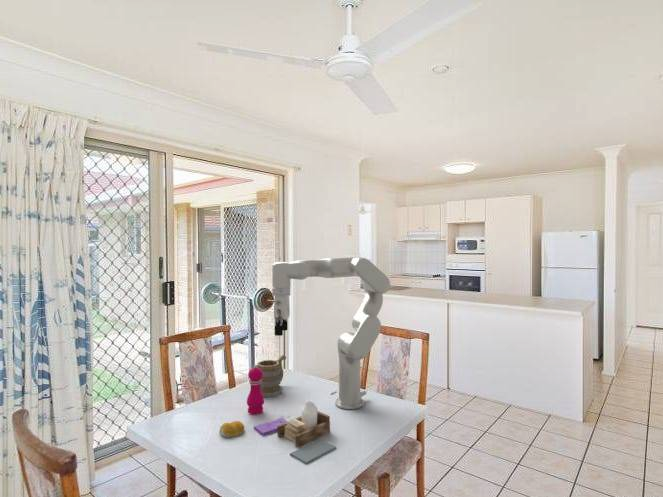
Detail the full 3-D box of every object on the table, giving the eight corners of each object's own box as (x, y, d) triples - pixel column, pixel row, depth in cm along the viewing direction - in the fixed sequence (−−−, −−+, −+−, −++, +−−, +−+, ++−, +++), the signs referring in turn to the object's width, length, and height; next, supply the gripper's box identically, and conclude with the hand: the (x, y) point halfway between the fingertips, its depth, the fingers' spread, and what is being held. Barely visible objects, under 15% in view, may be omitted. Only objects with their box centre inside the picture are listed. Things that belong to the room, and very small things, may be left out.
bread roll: (247, 434, 149) (247, 423, 148) (224, 440, 144) (224, 429, 144) (239, 425, 155) (239, 415, 155) (217, 431, 151) (217, 420, 150)
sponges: (291, 428, 154) (291, 423, 154) (262, 437, 146) (262, 432, 146) (282, 421, 160) (282, 417, 160) (253, 430, 152) (253, 425, 152)
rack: (309, 422, 158) (309, 407, 158) (329, 432, 150) (329, 416, 150) (277, 436, 146) (277, 420, 146) (297, 447, 138) (297, 430, 138)
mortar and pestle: (269, 399, 181) (269, 366, 181) (249, 393, 188) (249, 361, 188) (296, 386, 198) (296, 356, 198) (277, 381, 205) (277, 352, 205)
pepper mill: (266, 408, 171) (266, 362, 171) (261, 415, 164) (261, 367, 164) (249, 407, 172) (249, 361, 171) (244, 414, 164) (244, 366, 164)
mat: (319, 440, 143) (319, 438, 143) (336, 448, 138) (336, 446, 138) (290, 455, 133) (290, 453, 133) (306, 464, 128) (306, 462, 128)
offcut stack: (293, 432, 149) (293, 417, 149) (307, 439, 144) (307, 424, 144) (284, 436, 146) (284, 421, 146) (297, 444, 141) (297, 428, 141)
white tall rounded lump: (315, 396, 153) (319, 402, 148) (315, 427, 153) (318, 434, 148) (300, 398, 152) (303, 403, 146) (300, 429, 152) (303, 436, 146)
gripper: (286, 294, 156) (285, 337, 156) (294, 289, 173) (293, 328, 173) (267, 294, 157) (267, 337, 157) (277, 289, 174) (276, 328, 174)
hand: (281, 332), depth 165 cm, fingers open, 9 cm apart
